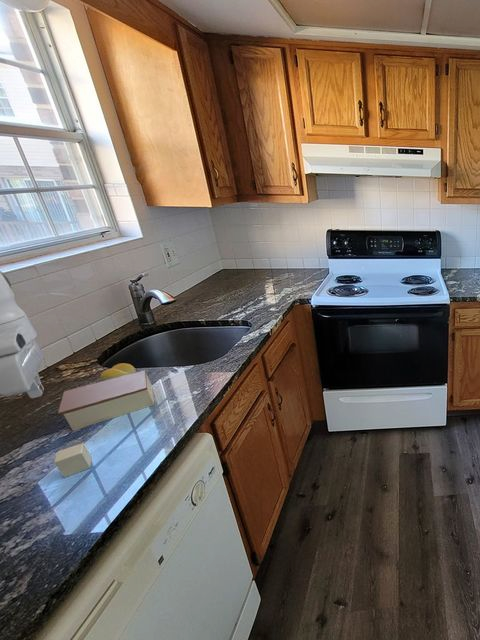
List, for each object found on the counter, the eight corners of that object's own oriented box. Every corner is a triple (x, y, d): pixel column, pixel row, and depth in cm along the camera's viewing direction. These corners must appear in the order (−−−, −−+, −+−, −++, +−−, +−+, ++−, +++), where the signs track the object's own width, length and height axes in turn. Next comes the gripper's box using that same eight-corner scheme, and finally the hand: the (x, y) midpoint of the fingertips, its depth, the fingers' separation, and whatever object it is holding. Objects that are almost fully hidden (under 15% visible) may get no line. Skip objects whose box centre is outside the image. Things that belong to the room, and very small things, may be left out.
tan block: (63, 477, 81) (54, 462, 79) (66, 466, 85) (56, 451, 83) (90, 467, 84) (81, 452, 82) (92, 457, 87) (83, 442, 85)
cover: (58, 415, 94) (57, 413, 94) (65, 393, 103) (64, 391, 103) (147, 389, 104) (146, 387, 104) (145, 371, 114) (145, 370, 114)
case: (72, 430, 97) (63, 414, 94) (77, 408, 106) (69, 392, 104) (154, 404, 107) (147, 389, 104) (152, 386, 116) (145, 371, 114)
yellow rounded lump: (96, 383, 119) (90, 372, 117) (124, 369, 127) (119, 359, 125) (115, 385, 117) (110, 374, 116) (142, 371, 125) (137, 361, 123)
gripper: (-10, 324, 76) (26, 381, 82) (-40, 358, 62) (5, 423, 68) (33, 316, 80) (64, 371, 86) (13, 346, 65) (52, 409, 71)
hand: (38, 394), depth 77 cm, fingers closed
